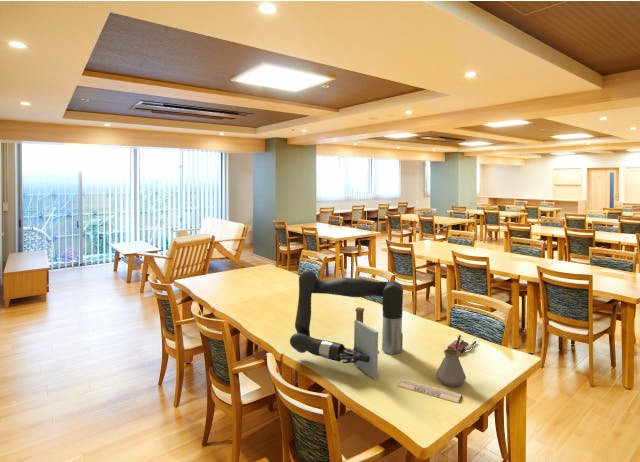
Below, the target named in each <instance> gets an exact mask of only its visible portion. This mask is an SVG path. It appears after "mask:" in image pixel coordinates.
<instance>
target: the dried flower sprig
mask: <svg viewBox="0 0 640 462" xmlns="http://www.w3.org/2000/svg"><path fill="white" fill-rule="evenodd" d="M457 340H458V339H456V340H454V341H453V342H452V343H450V344H449V345H448V346H447V348H446V349H454V350H455V345H456V342H457ZM464 340H465V339H463V338H462V339H460V341H459V345H458V348H457V351H459V352H460V353H461V355H462V354H463V353H465V352H464V351H466V350H470V349H471V348H474V346H475V345H476V344H477V340H474V341H473V342H472V343H471V344H469V343H468V342H467V341H464ZM474 344H475V345H474ZM470 351H471V350H470Z"/></svg>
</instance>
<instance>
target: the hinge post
mask: <svg viewBox="0 0 640 462" xmlns="http://www.w3.org/2000/svg"><path fill="white" fill-rule="evenodd" d="M364 311H365V308H364V307H356V308H355V314H356V315H355V320H359V321H360V322H362V323H364Z"/></svg>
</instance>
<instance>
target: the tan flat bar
mask: <svg viewBox="0 0 640 462" xmlns="http://www.w3.org/2000/svg"><path fill="white" fill-rule="evenodd" d="M397 387H398V388H399V387H400V388H402V389H406V390H409V391H414V392H417V393H420V394H424V395H427V396H431V397H435V398H438V399H442V400H445V401H448V400H449V402H452V401H453V403H456V404H459V402H460V398H461V397H462V394H460V393H457V392H453V391H449V390H445V389H442V388H438V387H434V386H430V385H427V384H423V383H420V382H415V381H412V380H408V379H406V378H405V379H404V378H401V379H400V380H399V381H398V384H397Z"/></svg>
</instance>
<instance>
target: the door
mask: <svg viewBox="0 0 640 462" xmlns="http://www.w3.org/2000/svg"><path fill="white" fill-rule="evenodd" d="M353 326H354V327H353V328H354V333H353V334H354V335H353V341H354V343H353V348H354V347H356V348H358V349H359V350H360V351H361V352H362V353H361V354H362V355H365V356H369V362H368V363H367V362H363V361H357V362H356V363H353V364H354V365H355V366H356V367H358V368H359V369H360V370H361V371H363V372H364V373H366V374H367V375H368V376H369V377H371V378H372V379H373V380H376V379H378V363H379V362H378V361H379V360H378V357H379V354H380V351H379V331H377V330H376V329H374V328H372V327H370V325H367V324H365V323H364V322H363V323H362V322H360V321H359V320H356V319H355V320H354V325H353Z"/></svg>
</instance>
